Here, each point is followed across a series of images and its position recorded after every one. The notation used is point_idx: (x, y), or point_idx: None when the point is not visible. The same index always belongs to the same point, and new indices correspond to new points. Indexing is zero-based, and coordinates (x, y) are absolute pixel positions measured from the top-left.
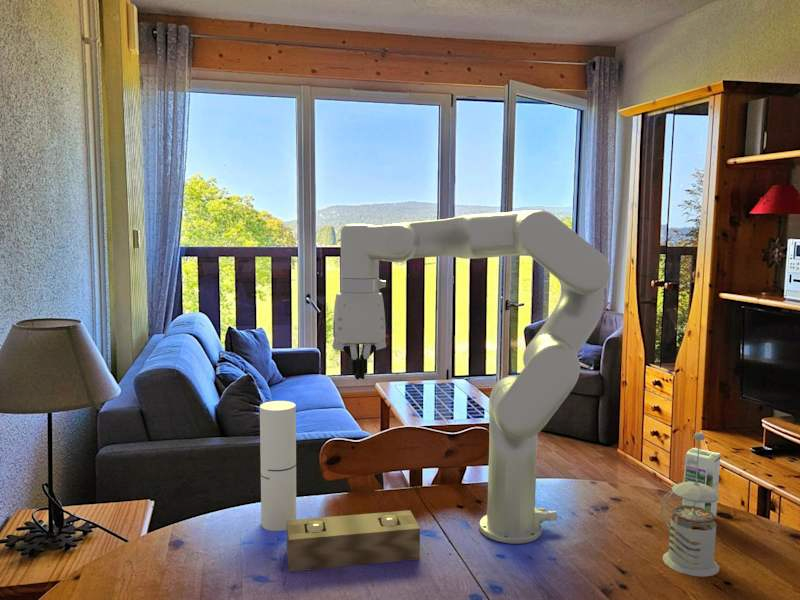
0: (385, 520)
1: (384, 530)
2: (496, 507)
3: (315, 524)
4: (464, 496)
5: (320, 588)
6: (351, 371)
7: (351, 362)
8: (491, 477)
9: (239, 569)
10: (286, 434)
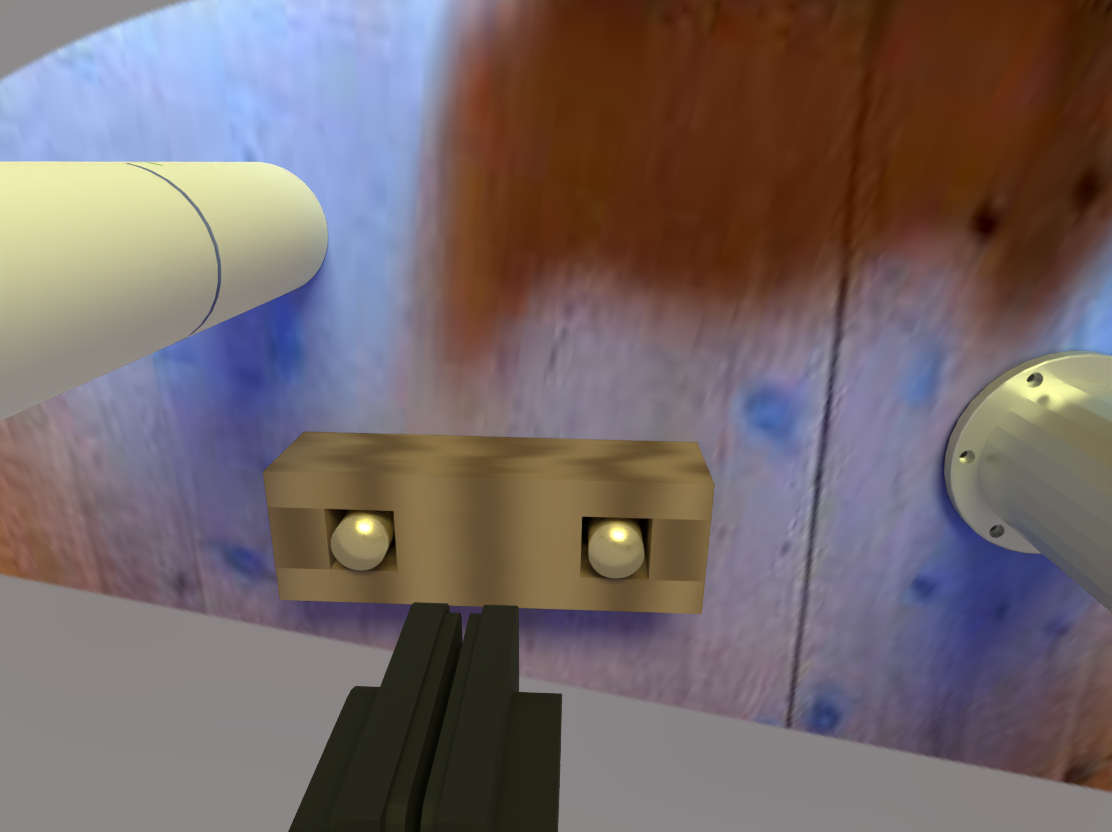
0: (598, 567)
1: (583, 605)
2: (1034, 538)
3: (359, 547)
4: (1058, 124)
5: (398, 633)
6: (352, 695)
7: (305, 803)
8: (1104, 567)
9: (179, 506)
10: (56, 395)
